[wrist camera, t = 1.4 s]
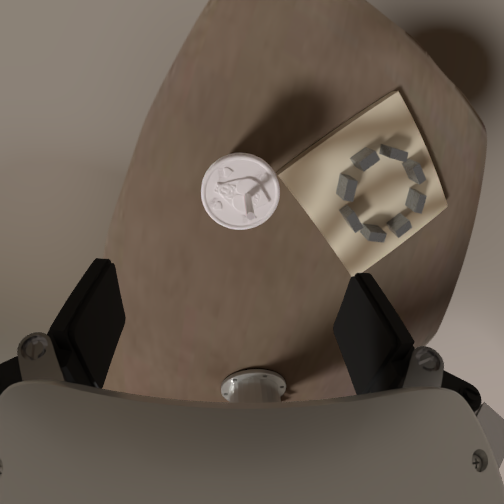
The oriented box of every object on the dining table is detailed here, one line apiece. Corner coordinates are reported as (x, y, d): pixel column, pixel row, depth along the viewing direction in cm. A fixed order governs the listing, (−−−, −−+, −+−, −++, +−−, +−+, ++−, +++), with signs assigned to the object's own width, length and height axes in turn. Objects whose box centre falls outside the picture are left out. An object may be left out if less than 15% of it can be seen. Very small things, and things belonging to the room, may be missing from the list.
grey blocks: (426, 200, 32) (436, 207, 30) (363, 249, 35) (370, 258, 32) (392, 127, 27) (404, 130, 25) (318, 180, 30) (325, 186, 28)
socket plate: (441, 202, 34) (447, 206, 32) (349, 272, 38) (353, 278, 37) (391, 91, 26) (398, 91, 25) (275, 172, 31) (277, 175, 29)
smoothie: (257, 201, 32) (273, 265, 20) (203, 187, 31) (184, 245, 19) (274, 149, 29) (305, 182, 17) (218, 134, 28) (206, 154, 16)
